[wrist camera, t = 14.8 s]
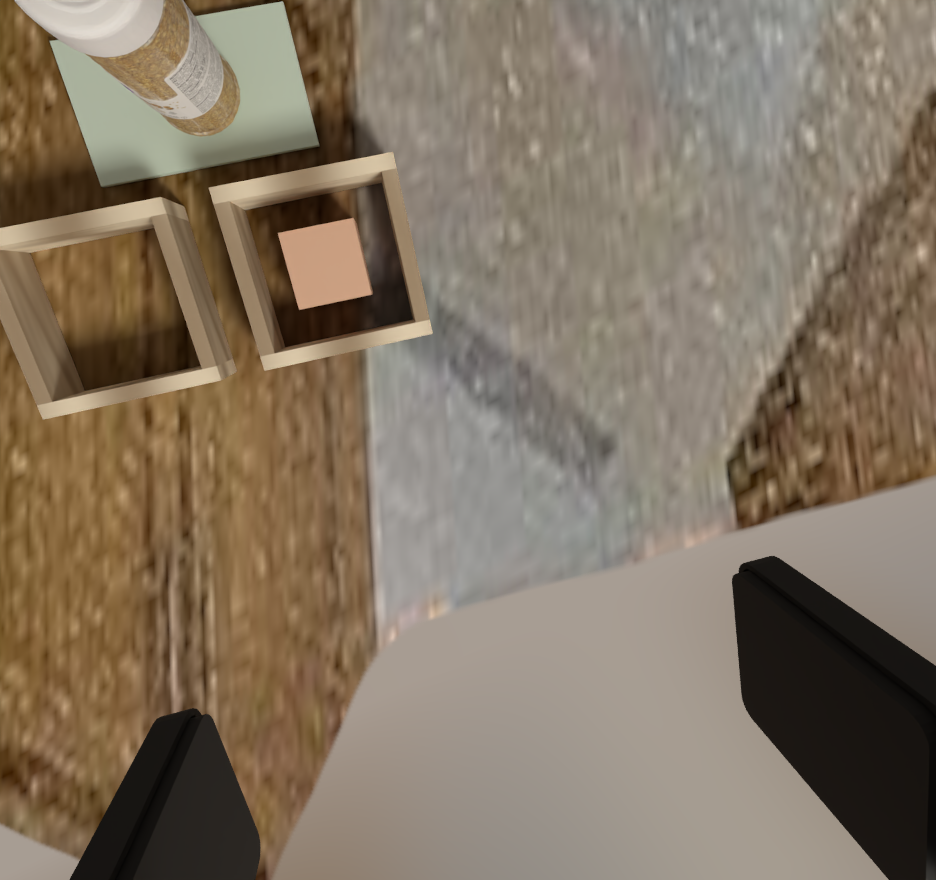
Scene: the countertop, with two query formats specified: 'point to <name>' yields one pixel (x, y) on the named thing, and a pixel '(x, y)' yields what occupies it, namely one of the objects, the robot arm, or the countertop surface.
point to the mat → (172, 151)
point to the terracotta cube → (326, 263)
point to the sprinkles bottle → (150, 55)
